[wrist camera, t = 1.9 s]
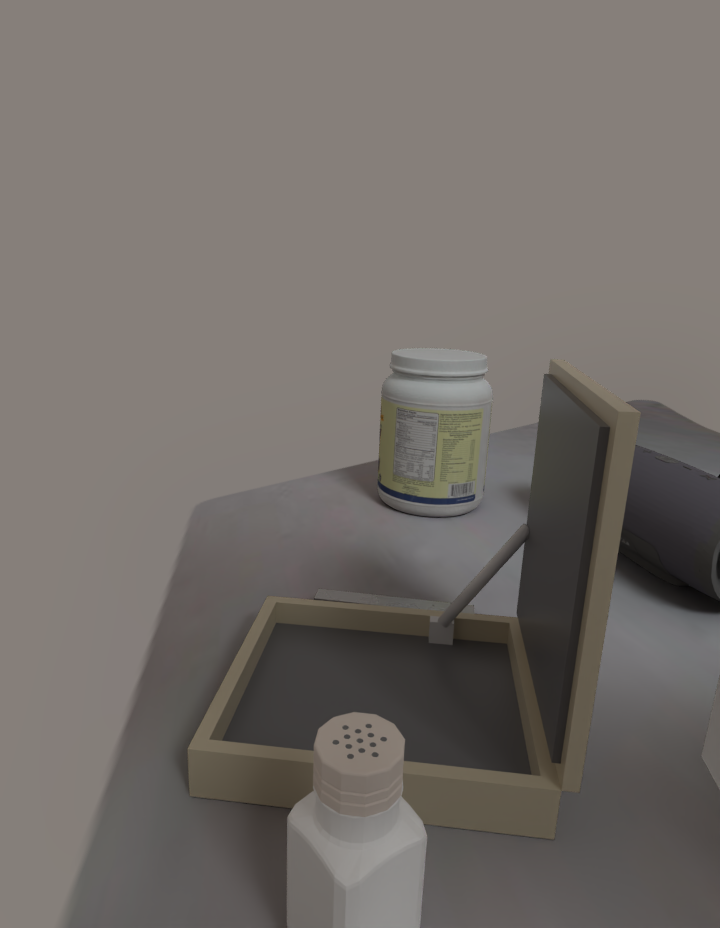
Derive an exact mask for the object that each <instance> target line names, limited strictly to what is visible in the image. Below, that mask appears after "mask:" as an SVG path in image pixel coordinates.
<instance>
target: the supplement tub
mask: <svg viewBox="0 0 720 928" xmlns="http://www.w3.org/2000/svg"><path fill="white" fill-rule="evenodd" d="M390 368H392V369H393V372H394V373H393V374H392V375H390V376H389V377H388V378H387V379H386V380H385V382H384V384H383V387H382V392H381V393H382V397H381V421H380V444H379V446H380V447H379V466H378V484H377V488H378V493H379V496H380V498H381V499H382V500H383V501H384V502H385V503H386V504H387V505H389V506H390V507H392V508H394V509H396V510H399V511H402V512H405V513H409V514H413V515H419V516H428V517H450V516H457V515H462V514H465V513H468V512H470V511H472V510H474V509H475V508H476V507H478V505H479V504H480V503H481V501H482V498H483V495H484V484H485V474H486V464H487V454H488V443H489V433H490V422H491V411H492V400H493V393H492V388H491V386H490V384H489V383H488V382H487V381H486V380H485V379H483V376H484V375H485V373H487V372H488V369H487V356H486V355H484V354H480V353H476V352H470V351H463V350H454V349H438V348H409V349H399V350H395V351H393V352H392V358H391V363H390Z"/></svg>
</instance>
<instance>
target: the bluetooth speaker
mask: <svg viewBox="0 0 720 928" xmlns="http://www.w3.org/2000/svg"><path fill="white" fill-rule="evenodd" d="M618 551H620V552H621V553H622V554H624V555H625V556H627V557H628V558H630V559H631V560H633V561H634V562H636V563H637V564H639V565H640V566H642V567H643V568H644V569H646V570H647V571H649V572H650V573H652V574H654V575H656V576H657V577H659V578H661V579H662V580H665V581H667V582H669V583H671V584H673V585H677V586H688V585H690V586H692V587H693V588H695V589H697V590H698V591H700V592H702V593H704V594H706V595H708V596H710V597H712V598H714V599H716V600H718V601H720V478H718V477H715V476H713V475H711V474H709V473H706V472H704V471H702V470H700V469H697V468H695V467H693V466H690V465H688V464H685V463H683V462H681V461H678V460H675V459H673V458H670V457H668V456H665V455H662V454H660V453H657V452H655V451H652V450H649V449H646V448H643V447H640V446H638V445H635V450H634V456H633V463H632V469H631V475H630V481H629V488H628V494H627V500H626V506H625V512H624V519H623V525H622V531H621V537H620V544H619V550H618Z"/></svg>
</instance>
